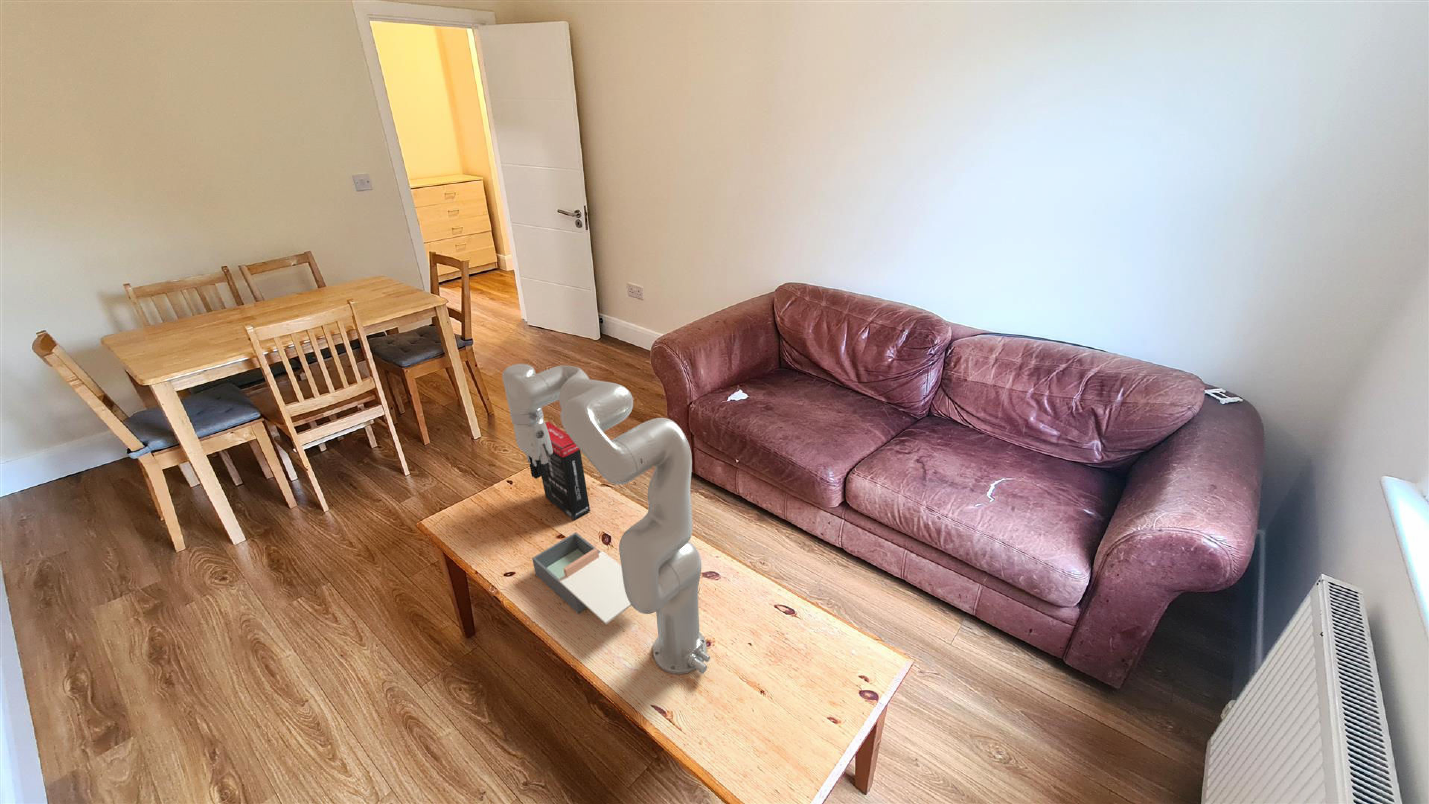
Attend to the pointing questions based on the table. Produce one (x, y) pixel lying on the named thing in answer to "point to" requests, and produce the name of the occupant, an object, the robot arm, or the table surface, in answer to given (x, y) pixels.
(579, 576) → the lid
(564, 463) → the graphics card box
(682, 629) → the robot arm
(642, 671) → the table surface
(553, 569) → the box
